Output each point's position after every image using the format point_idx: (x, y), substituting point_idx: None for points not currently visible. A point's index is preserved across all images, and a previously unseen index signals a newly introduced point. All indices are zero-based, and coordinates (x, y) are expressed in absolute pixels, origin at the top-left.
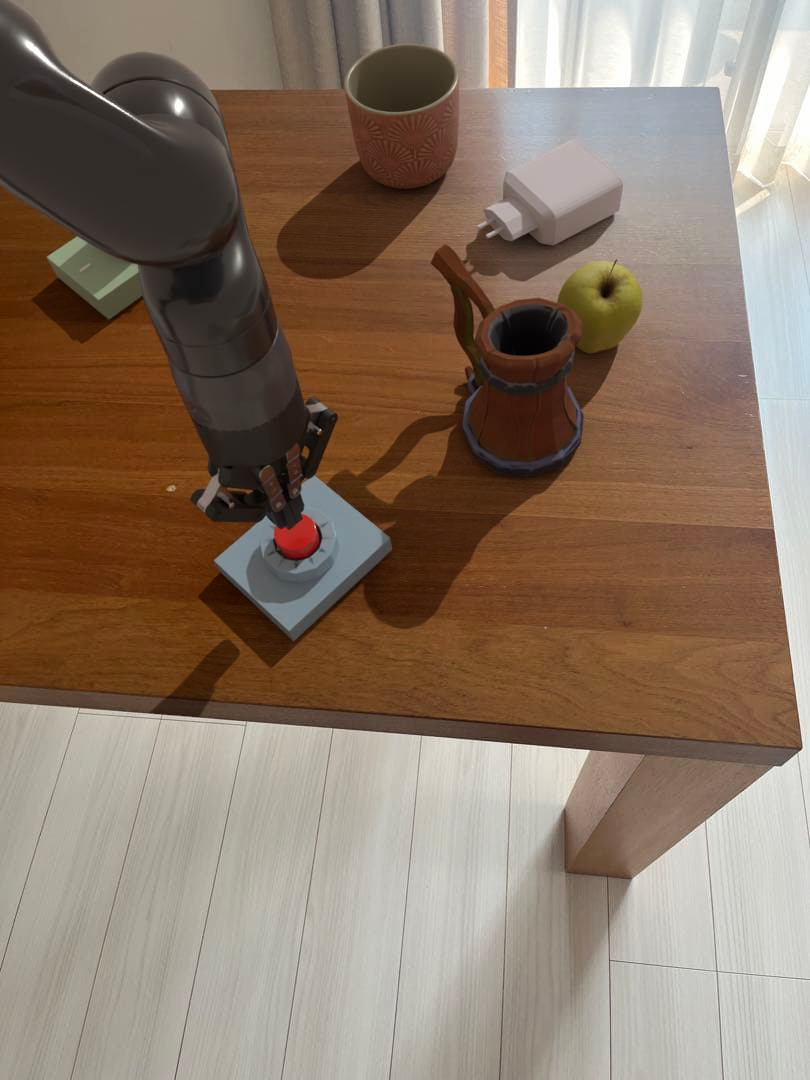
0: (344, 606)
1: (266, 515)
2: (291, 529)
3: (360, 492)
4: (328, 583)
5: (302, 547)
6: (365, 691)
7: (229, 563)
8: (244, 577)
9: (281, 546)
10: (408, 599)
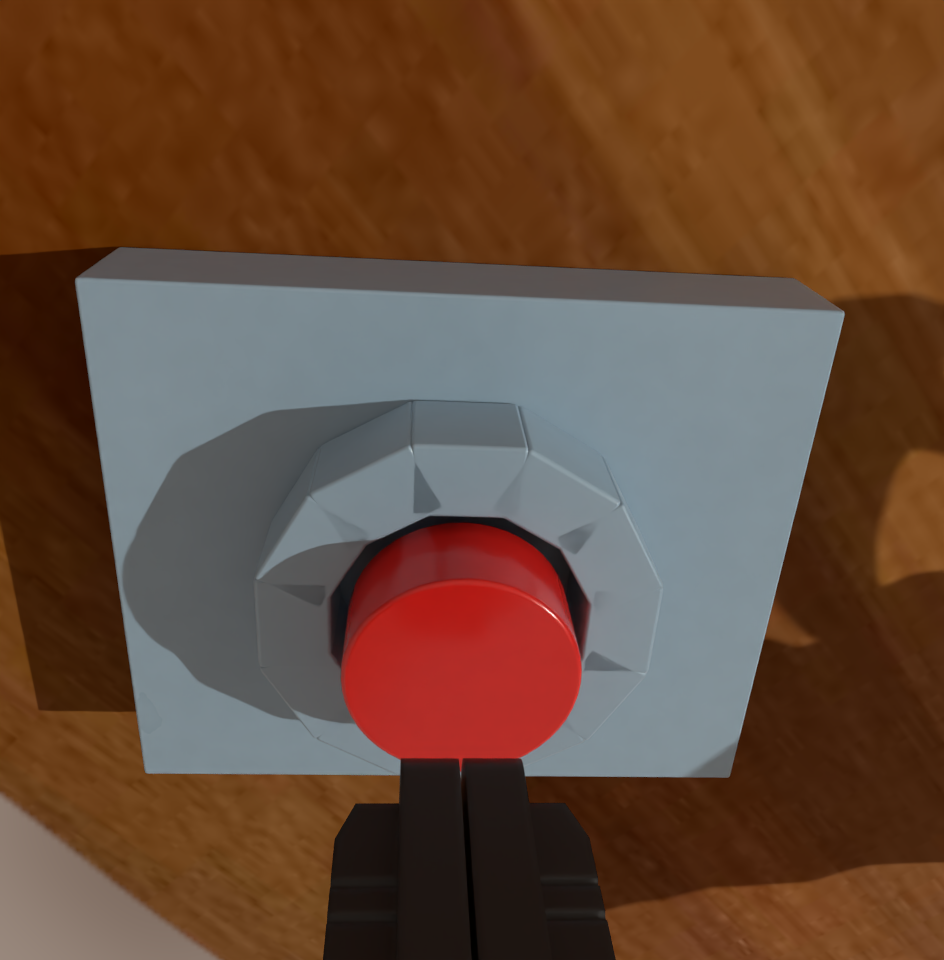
0: None
1: (331, 875)
2: (458, 664)
3: (870, 453)
4: None
5: None
6: (242, 930)
7: (135, 362)
8: (148, 478)
9: (344, 692)
10: None
